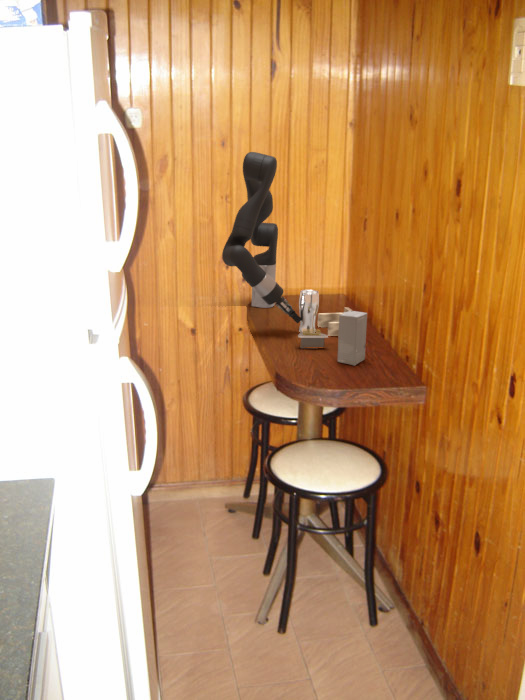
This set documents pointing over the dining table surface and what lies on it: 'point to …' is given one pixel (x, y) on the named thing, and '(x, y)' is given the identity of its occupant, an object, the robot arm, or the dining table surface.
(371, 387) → the dining table surface
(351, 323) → the skincare box
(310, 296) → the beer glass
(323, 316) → the bracket
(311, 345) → the platform
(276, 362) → the dining table surface
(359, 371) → the dining table surface
